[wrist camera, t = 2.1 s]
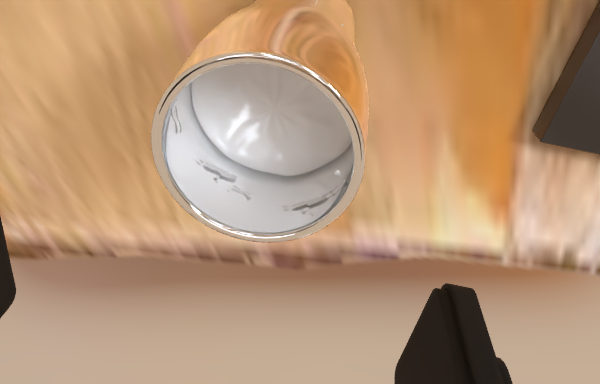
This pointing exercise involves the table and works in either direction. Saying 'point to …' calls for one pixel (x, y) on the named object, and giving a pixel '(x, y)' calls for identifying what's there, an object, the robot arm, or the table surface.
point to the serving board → (576, 97)
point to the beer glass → (267, 122)
